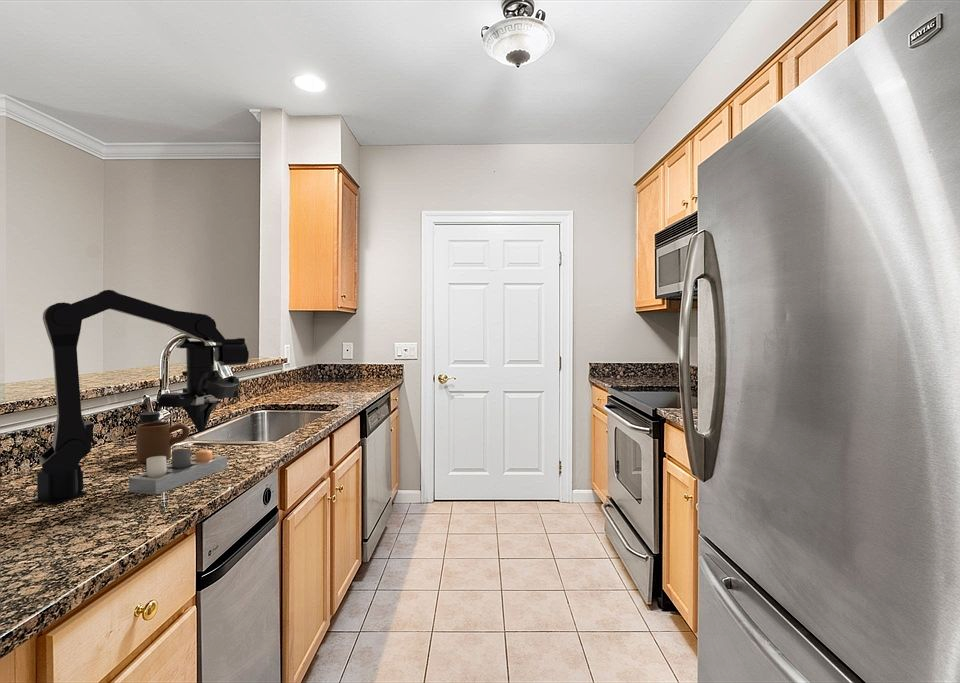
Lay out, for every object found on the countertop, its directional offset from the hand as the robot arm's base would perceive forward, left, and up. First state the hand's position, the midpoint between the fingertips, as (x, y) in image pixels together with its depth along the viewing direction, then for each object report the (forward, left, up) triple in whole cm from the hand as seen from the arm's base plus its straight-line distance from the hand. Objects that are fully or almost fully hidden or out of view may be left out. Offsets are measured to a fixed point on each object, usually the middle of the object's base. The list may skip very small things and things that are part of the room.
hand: (201, 431), depth 118 cm
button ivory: (-12, 0, -8) cm, 14 cm away
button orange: (+1, 0, -9) cm, 9 cm away
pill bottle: (+13, +29, -10) cm, 34 cm away
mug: (+8, +19, -10) cm, 23 cm away
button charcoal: (-6, 0, -8) cm, 10 cm away
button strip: (-6, 0, -10) cm, 11 cm away
